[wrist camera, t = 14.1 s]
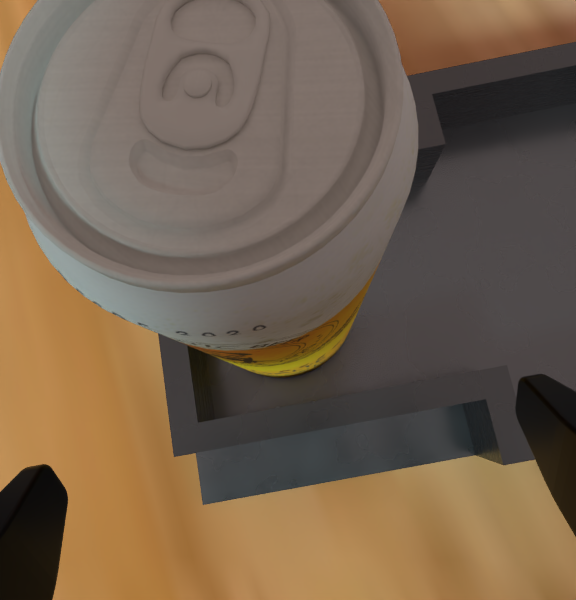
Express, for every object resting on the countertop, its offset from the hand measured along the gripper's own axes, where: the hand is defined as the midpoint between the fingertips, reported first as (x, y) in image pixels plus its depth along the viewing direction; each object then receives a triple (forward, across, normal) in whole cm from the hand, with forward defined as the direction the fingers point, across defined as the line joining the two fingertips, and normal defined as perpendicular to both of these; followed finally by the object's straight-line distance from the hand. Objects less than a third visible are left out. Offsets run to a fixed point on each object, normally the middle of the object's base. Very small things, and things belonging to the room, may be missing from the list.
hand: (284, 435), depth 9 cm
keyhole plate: (+12, -6, +5) cm, 14 cm away
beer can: (+11, 0, +4) cm, 12 cm away
